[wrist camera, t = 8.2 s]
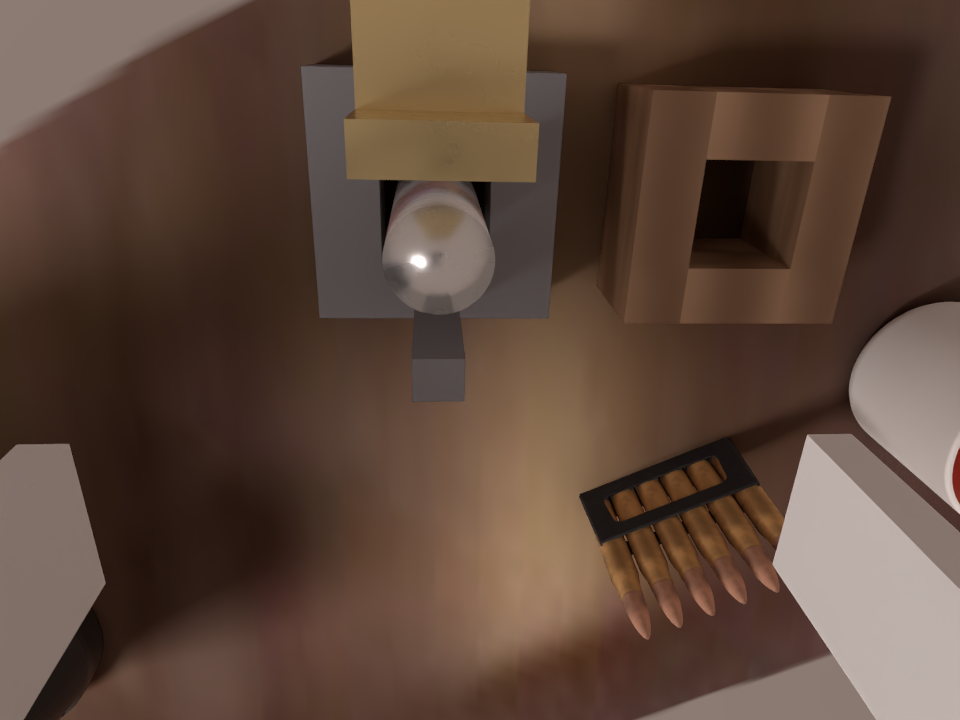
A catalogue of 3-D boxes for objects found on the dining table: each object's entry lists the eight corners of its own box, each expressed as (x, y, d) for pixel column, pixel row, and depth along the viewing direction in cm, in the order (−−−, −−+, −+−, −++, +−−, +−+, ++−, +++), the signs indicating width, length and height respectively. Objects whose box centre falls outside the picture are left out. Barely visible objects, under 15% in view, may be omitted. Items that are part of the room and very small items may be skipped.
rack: (596, 285, 40) (623, 323, 34) (618, 83, 35) (653, 90, 30) (777, 286, 41) (831, 323, 35) (821, 89, 36) (891, 96, 31)
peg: (398, 224, 37) (384, 314, 25) (396, 149, 36) (380, 204, 23) (470, 225, 38) (492, 314, 25) (472, 150, 36) (497, 206, 23)
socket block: (329, 292, 39) (281, 414, 26) (314, 64, 34) (244, 73, 21) (537, 293, 40) (590, 411, 27) (552, 71, 35) (626, 84, 22)
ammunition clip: (728, 435, 45) (825, 560, 34) (735, 457, 46) (831, 585, 35) (578, 494, 46) (625, 633, 35) (587, 514, 47) (635, 656, 36)
